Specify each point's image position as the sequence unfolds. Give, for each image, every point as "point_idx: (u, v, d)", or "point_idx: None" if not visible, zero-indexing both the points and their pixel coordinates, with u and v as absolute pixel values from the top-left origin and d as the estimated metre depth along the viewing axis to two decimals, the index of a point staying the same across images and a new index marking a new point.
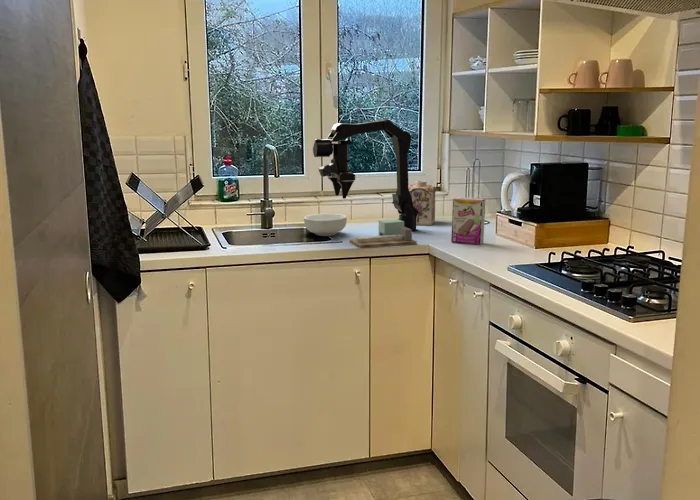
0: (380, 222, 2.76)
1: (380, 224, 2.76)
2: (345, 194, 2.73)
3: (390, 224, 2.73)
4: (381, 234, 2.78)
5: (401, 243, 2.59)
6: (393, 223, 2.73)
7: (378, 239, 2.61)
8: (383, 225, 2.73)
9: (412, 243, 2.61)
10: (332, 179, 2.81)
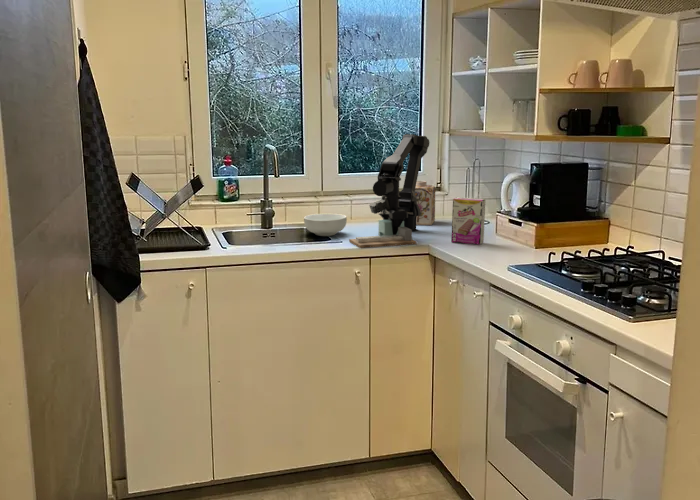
0: (380, 222, 2.76)
1: (380, 224, 2.76)
2: (395, 231, 2.73)
3: (390, 224, 2.73)
4: (381, 234, 2.78)
5: (401, 243, 2.59)
6: None
7: (378, 239, 2.61)
8: (383, 224, 2.73)
9: (412, 243, 2.61)
10: (383, 215, 2.79)
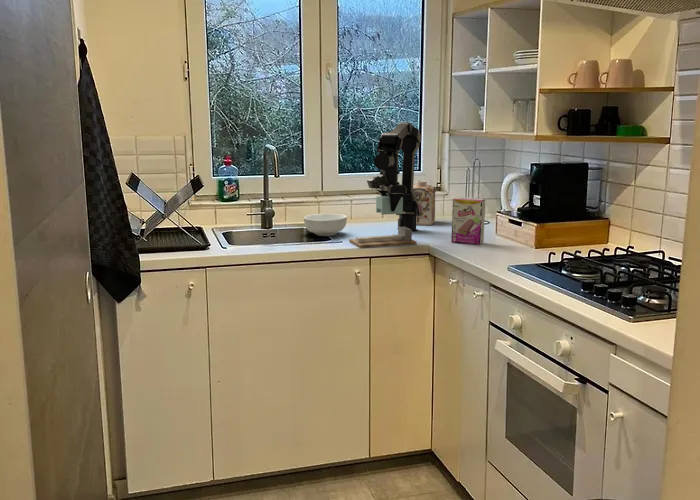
0: (378, 198, 2.64)
1: (378, 200, 2.64)
2: (394, 207, 2.61)
3: (388, 200, 2.61)
4: (379, 211, 2.66)
5: (401, 243, 2.59)
6: None
7: (378, 239, 2.61)
8: (380, 200, 2.61)
9: (412, 243, 2.61)
10: (381, 192, 2.67)
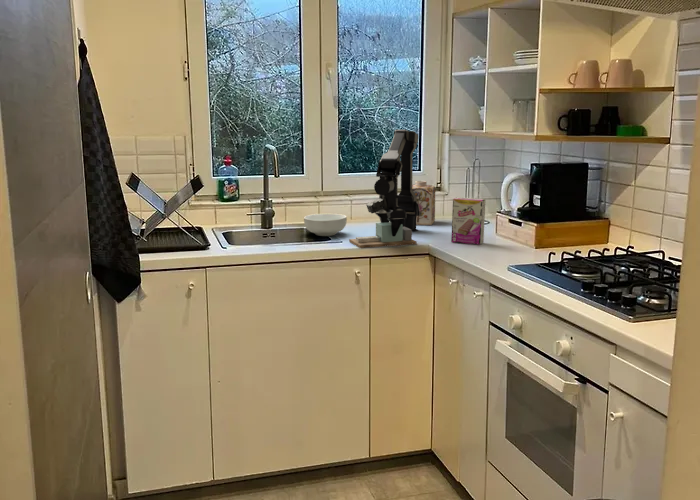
0: (377, 225, 2.63)
1: (377, 227, 2.63)
2: (395, 232, 2.59)
3: (388, 227, 2.60)
4: None
5: (401, 243, 2.59)
6: None
7: (378, 239, 2.61)
8: (380, 228, 2.60)
9: (412, 243, 2.61)
10: (380, 215, 2.67)
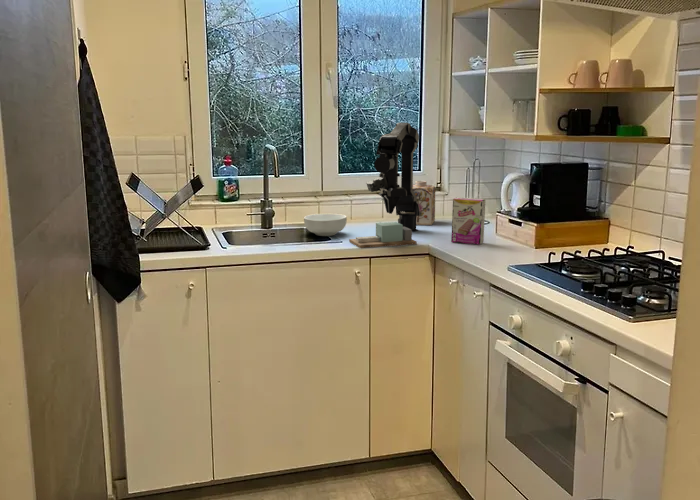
0: (377, 225, 2.63)
1: (377, 227, 2.63)
2: (392, 209, 2.60)
3: (388, 227, 2.60)
4: None
5: (401, 243, 2.59)
6: (391, 226, 2.60)
7: (378, 239, 2.61)
8: (380, 228, 2.60)
9: (412, 243, 2.61)
10: (383, 195, 2.62)
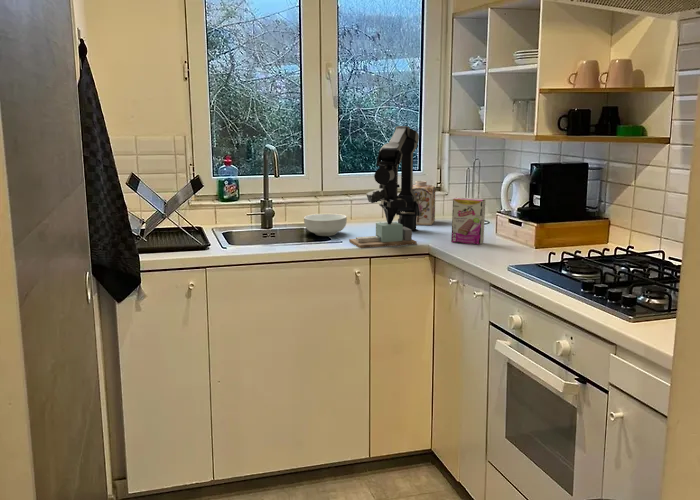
0: (377, 225, 2.63)
1: (377, 227, 2.63)
2: (391, 220, 2.62)
3: (388, 227, 2.60)
4: None
5: (401, 243, 2.59)
6: (391, 226, 2.60)
7: (378, 239, 2.61)
8: (380, 228, 2.60)
9: (412, 243, 2.61)
10: (384, 206, 2.62)
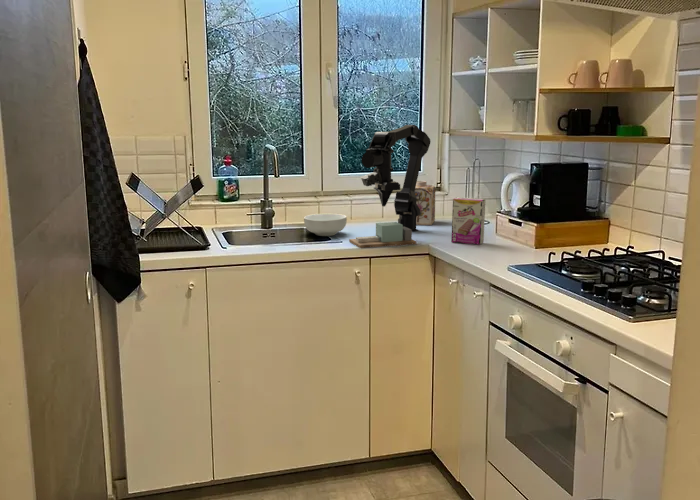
0: (377, 225, 2.63)
1: (377, 227, 2.63)
2: (385, 202, 2.73)
3: (388, 227, 2.60)
4: None
5: (401, 243, 2.59)
6: (391, 226, 2.60)
7: (378, 239, 2.61)
8: (380, 228, 2.60)
9: (412, 243, 2.61)
10: None
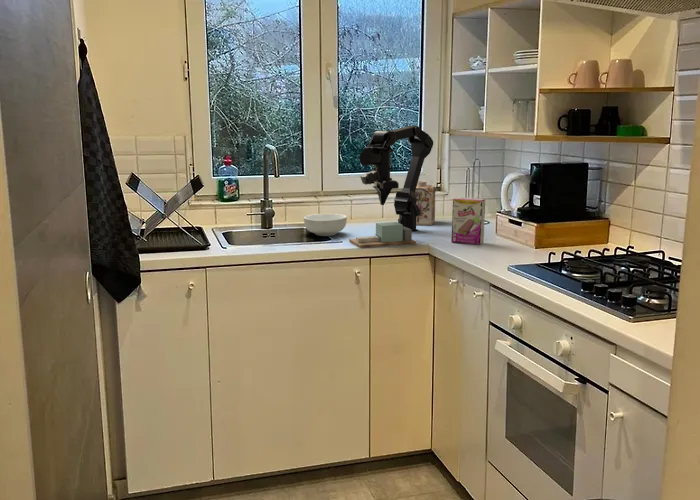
0: (377, 225, 2.63)
1: (377, 227, 2.63)
2: (383, 201, 2.75)
3: (388, 227, 2.60)
4: None
5: (401, 243, 2.59)
6: (391, 226, 2.60)
7: (378, 239, 2.61)
8: (380, 228, 2.60)
9: (412, 243, 2.61)
10: (377, 188, 2.74)
